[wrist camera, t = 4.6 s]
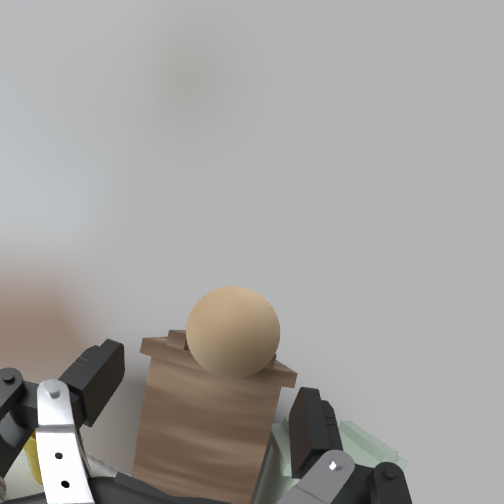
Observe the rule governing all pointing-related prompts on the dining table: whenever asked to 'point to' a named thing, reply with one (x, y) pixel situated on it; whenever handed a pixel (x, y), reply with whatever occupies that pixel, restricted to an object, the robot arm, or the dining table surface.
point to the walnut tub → (204, 424)
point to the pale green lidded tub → (354, 443)
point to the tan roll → (233, 332)
